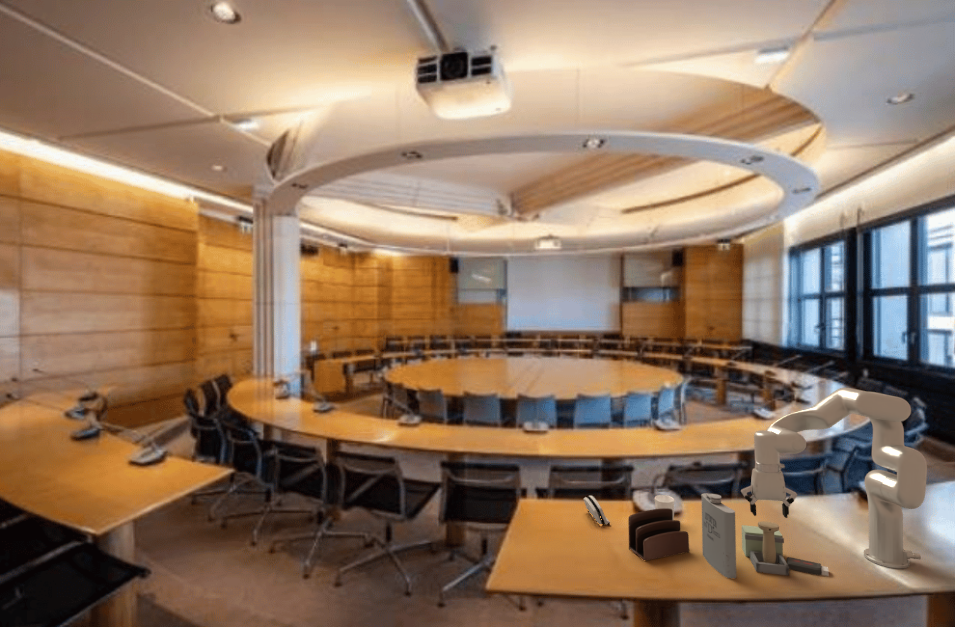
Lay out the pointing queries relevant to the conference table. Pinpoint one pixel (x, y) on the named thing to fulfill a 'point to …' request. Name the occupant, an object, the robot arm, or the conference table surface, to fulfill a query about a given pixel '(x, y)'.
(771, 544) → the handle
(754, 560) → the green box on stand
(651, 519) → the letter holder
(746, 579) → the conference table surface
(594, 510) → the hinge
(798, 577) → the conference table surface
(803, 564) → the usb drive
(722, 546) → the flask
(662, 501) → the white cup
